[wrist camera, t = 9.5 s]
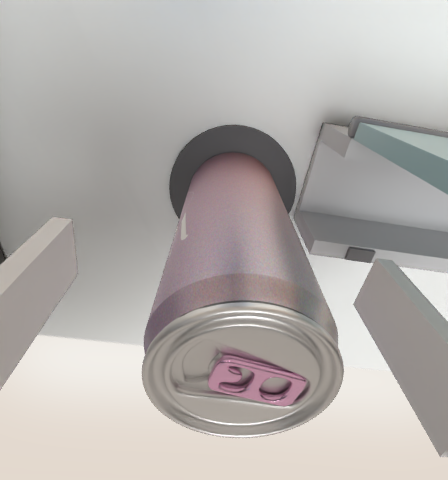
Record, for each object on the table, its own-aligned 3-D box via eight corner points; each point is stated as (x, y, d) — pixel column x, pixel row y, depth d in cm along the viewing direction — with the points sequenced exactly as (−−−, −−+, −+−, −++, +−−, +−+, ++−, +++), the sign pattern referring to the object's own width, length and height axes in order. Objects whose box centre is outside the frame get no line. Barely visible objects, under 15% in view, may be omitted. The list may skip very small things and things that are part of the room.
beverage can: (253, 238, 23) (290, 456, 10) (180, 214, 22) (115, 420, 9) (288, 167, 20) (399, 341, 7) (205, 136, 19) (165, 272, 6)
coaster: (166, 235, 24) (165, 238, 23) (175, 114, 19) (174, 115, 19) (277, 250, 24) (278, 253, 24) (310, 137, 20) (312, 138, 19)
